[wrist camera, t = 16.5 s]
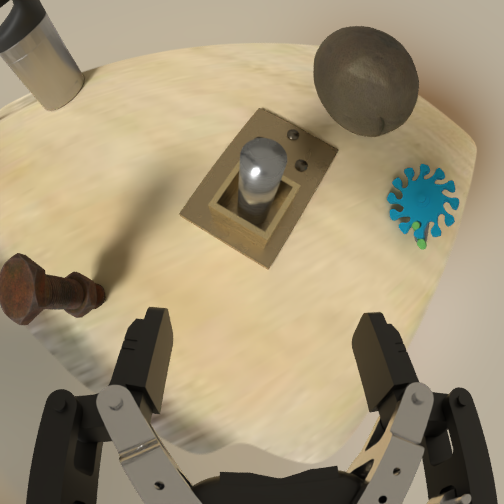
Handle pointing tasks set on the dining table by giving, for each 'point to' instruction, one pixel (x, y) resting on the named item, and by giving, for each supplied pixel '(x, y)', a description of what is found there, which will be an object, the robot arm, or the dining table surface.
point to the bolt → (44, 291)
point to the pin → (259, 178)
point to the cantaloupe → (365, 80)
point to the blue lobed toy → (423, 203)
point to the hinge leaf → (285, 201)
